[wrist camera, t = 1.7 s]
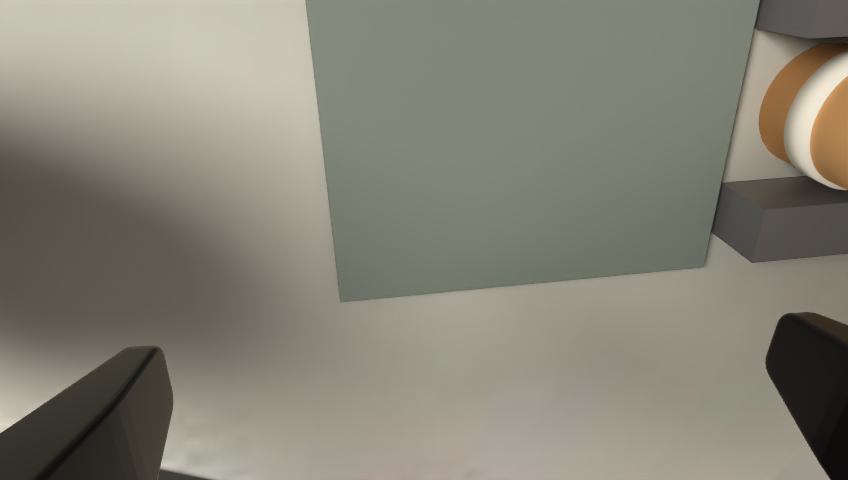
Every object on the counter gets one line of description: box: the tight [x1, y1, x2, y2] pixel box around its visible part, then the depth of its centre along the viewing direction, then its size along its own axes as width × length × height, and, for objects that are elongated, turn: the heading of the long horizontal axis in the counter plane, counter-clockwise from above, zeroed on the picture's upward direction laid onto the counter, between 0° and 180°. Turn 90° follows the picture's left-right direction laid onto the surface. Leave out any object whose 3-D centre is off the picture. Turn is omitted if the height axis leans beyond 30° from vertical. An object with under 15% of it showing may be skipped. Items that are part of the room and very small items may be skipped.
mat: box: [306, 0, 760, 302], centre depth 19 cm, size 14×12×1 cm
